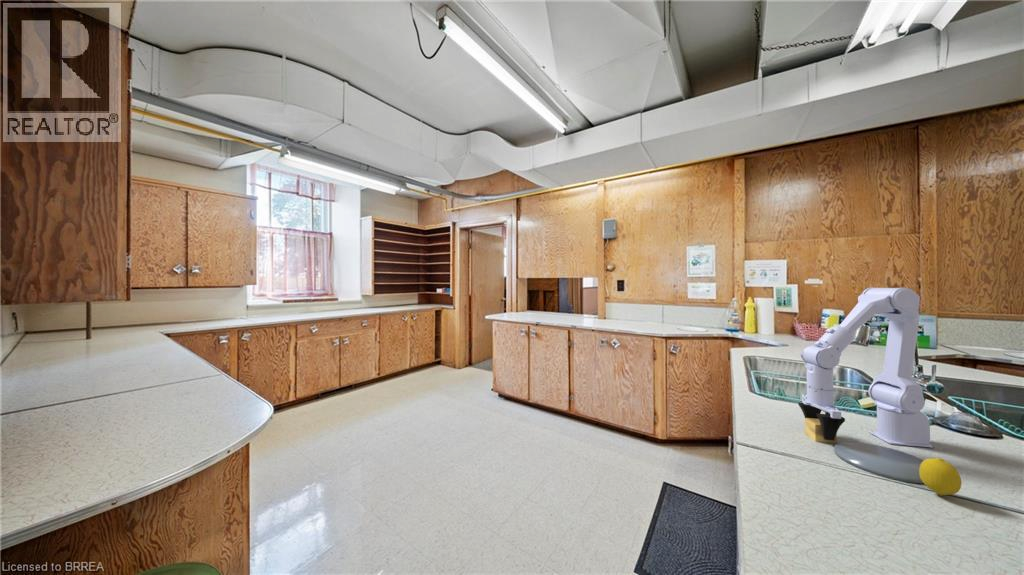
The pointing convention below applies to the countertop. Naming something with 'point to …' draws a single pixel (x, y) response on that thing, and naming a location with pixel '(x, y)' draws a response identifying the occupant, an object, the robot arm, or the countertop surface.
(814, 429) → the cube
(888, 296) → the robot arm
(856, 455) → the plate
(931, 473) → the lemon
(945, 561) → the countertop surface
